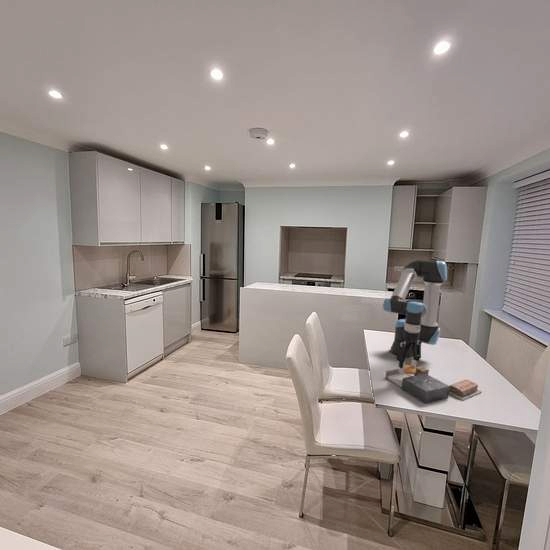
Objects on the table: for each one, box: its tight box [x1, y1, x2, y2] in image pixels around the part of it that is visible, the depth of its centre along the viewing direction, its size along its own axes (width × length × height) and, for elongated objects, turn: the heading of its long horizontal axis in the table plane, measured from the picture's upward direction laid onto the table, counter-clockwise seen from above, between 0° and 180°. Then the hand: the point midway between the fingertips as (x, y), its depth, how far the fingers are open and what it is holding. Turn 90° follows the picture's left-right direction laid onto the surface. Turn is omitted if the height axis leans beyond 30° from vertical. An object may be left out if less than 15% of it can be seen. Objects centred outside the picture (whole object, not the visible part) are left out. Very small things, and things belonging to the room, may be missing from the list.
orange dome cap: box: [404, 364, 416, 375], centre depth 159 cm, size 8×8×2 cm
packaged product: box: [449, 379, 483, 402], centre depth 153 cm, size 18×5×10 cm
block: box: [413, 365, 429, 376], centre depth 167 cm, size 5×5×5 cm
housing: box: [401, 374, 450, 404], centre depth 149 cm, size 14×16×6 cm
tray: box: [385, 368, 413, 388], centre depth 160 cm, size 14×15×4 cm
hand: (407, 372), depth 159 cm, fingers closed on orange dome cap, 8 cm apart
